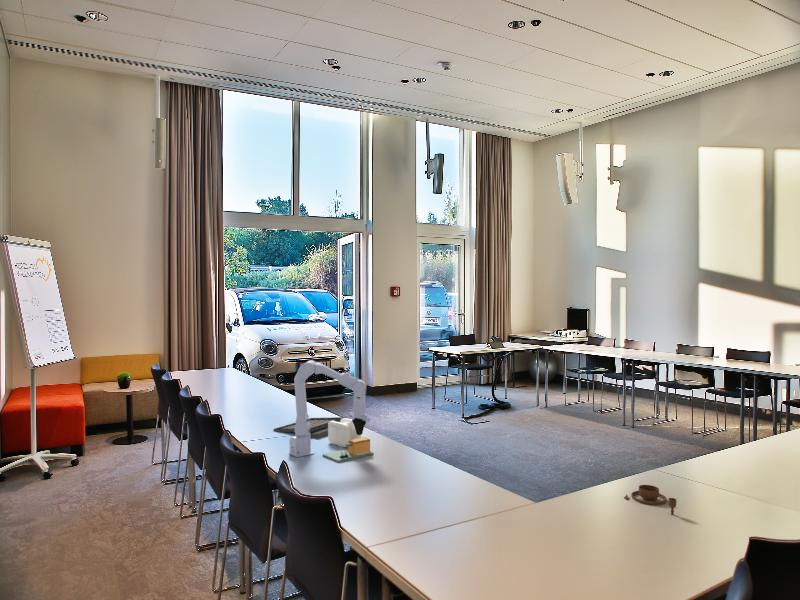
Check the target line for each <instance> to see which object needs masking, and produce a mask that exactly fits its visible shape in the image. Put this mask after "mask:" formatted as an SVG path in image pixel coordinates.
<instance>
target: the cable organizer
mask: <svg viewBox="0 0 800 600" xmlns="http://www.w3.org/2000/svg"><path fill="white" fill-rule="evenodd" d="M352 420H353V419H351V418H347V417H346V418H342V419H341V420H340V422H336V421H330V422H329V423H328V426H327V428H328V436H327V440H328V442H329V443H331V444H332V445H334V446H335V445H336V446H340V447H343V448H347V447H346V444H349V440H352V439H357V438H362V435H357V433H356V429H355V426H354V424H353V422H352Z"/></svg>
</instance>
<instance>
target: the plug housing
mask: <svg viewBox="0 0 800 600" xmlns="http://www.w3.org/2000/svg"><path fill="white" fill-rule="evenodd" d="M345 448H348V449H349V453H350V454H353V455H358V454H362V453H366V452H370V451H371V439H370V438H367V437H364V436H363V437H362V436H361V438H357V439H352V440H349V444H346V447H345Z"/></svg>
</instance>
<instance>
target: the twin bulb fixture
mask: <svg viewBox="0 0 800 600" xmlns="http://www.w3.org/2000/svg"><path fill="white" fill-rule="evenodd" d="M345 457H349V455H347V450H345V455H343V451H341V456H340V458H345Z"/></svg>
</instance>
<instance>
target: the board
mask: <svg viewBox="0 0 800 600" xmlns="http://www.w3.org/2000/svg"><path fill="white" fill-rule="evenodd" d="M345 450H347V455H349V457H345V458H340V456H341V451H343V455H345ZM372 455H374V452H373V451H372V450H370V452H366V453H362V454H358V455H353V454H350V453H349V448H345V449H341V450H335V451H331V452H327V453H322V457H323V458H326V459H328V460H330V461H332V462H335V463H343V462H348V461H352V460H356V459H361V458H364V457H369V456H372Z"/></svg>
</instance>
